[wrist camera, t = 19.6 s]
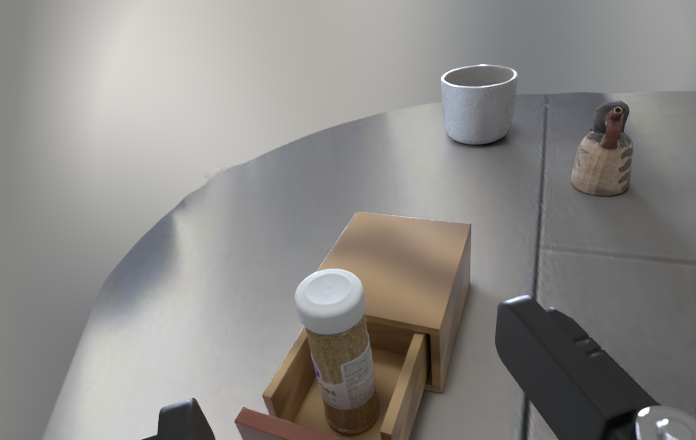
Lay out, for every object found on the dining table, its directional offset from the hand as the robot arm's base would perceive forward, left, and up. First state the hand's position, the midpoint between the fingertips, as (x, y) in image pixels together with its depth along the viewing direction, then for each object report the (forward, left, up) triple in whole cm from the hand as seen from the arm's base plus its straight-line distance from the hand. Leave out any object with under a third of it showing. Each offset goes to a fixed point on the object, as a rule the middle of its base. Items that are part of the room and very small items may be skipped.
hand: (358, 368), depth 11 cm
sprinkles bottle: (-8, +12, -24) cm, 28 cm away
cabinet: (-8, +24, -25) cm, 36 cm away
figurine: (+12, +56, -26) cm, 63 cm away
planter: (-7, +71, -26) cm, 76 cm away
